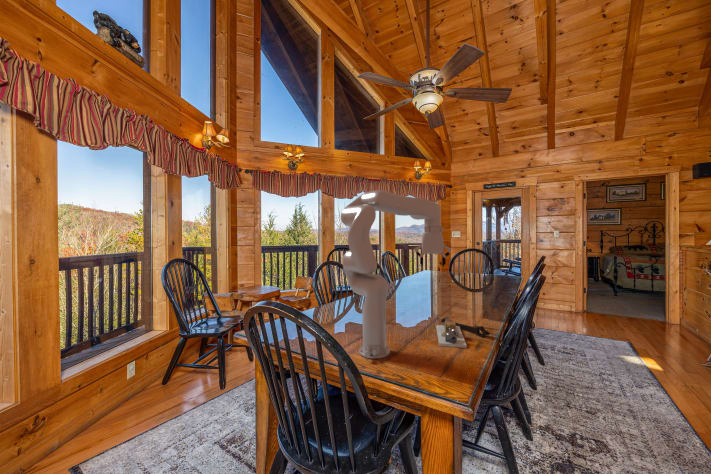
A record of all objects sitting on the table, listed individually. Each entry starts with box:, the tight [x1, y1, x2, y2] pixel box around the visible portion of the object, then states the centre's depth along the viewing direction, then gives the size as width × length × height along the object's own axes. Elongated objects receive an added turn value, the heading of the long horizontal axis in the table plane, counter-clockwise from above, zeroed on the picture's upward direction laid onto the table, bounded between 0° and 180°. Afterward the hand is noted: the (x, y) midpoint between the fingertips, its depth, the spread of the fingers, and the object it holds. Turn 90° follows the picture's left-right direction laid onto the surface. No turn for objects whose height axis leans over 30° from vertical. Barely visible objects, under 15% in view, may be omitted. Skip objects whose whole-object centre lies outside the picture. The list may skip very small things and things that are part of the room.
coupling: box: [445, 320, 456, 336], centre depth 132 cm, size 7×4×6 cm, turn 167°
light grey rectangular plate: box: [435, 324, 467, 349], centre depth 133 cm, size 24×11×2 cm, turn 167°
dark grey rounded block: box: [445, 329, 458, 344], centre depth 124 cm, size 6×4×5 cm, turn 137°
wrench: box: [440, 316, 491, 338], centre depth 144 cm, size 5×5×30 cm
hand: (432, 265), depth 138 cm, fingers open, 9 cm apart
